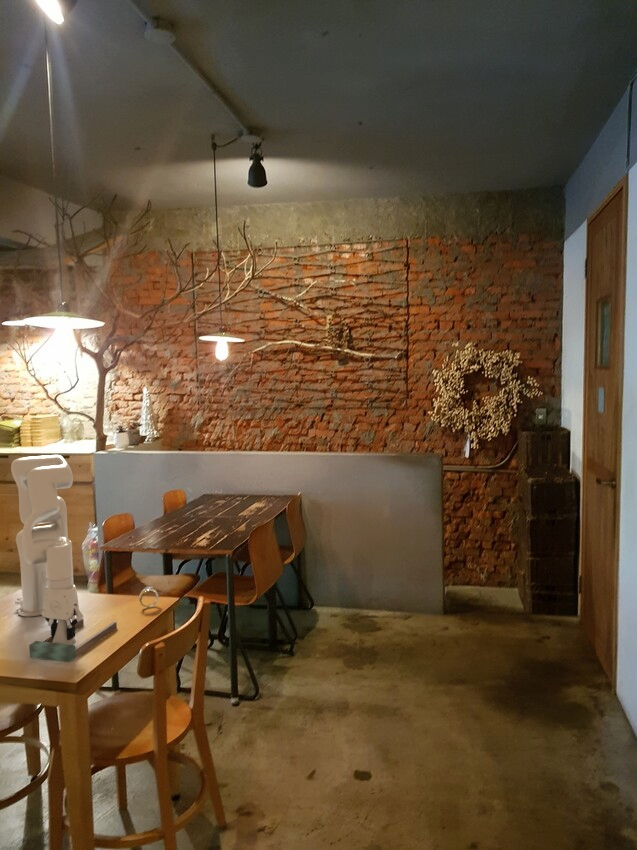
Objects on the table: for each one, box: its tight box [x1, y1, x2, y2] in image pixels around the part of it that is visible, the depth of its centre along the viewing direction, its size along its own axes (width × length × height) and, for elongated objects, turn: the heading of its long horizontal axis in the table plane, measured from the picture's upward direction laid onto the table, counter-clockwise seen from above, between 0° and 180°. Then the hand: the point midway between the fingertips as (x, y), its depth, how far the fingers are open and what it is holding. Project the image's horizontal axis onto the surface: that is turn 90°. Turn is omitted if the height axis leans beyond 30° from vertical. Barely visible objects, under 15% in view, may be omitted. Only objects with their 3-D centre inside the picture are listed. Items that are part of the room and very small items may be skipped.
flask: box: [52, 620, 76, 645], centre depth 191 cm, size 7×7×10 cm
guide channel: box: [28, 617, 118, 663], centre depth 197 cm, size 14×25×4 cm, turn 165°
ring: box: [138, 585, 159, 609], centre depth 226 cm, size 7×3×8 cm, turn 116°
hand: (63, 636), depth 191 cm, fingers closed on flask, 5 cm apart
